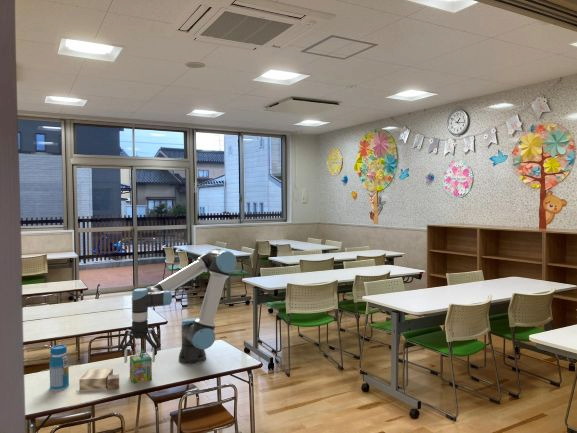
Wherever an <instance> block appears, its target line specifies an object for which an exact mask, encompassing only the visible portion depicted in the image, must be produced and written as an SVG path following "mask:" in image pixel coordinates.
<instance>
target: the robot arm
mask: <svg viewBox="0 0 577 433" xmlns="http://www.w3.org/2000/svg"><path fill="white" fill-rule="evenodd" d="M237 263H238V262H237V258H236V255H235V254H234V253H233V252H231V251H229V250H228V249H221V248H212V249H210V250H209V251H207V252H205V253H204V254H201V255H200V256H199V257H197V258H196V260H195V261H194V262H192V263H190V264H189V265H187V266H185V267H183V268H182V269H180V270H179V271H177V272H175V273H173V274H171V275H170V276H168V277H166V278H165V279H163V280H162V281H159V282H158V283H155V285H153V286H151V285H149V286H147V287H146V288H142V287H141V288H136V289H133V290H132V292H131V294H132V295H131V320H132V321H131V329H129V328H127V329H126V330H125V331H124V336H123V337H122V339H121V341H120V343H119V344H118V349H119V350H121V354H122V357H123V358H124V361H123V362H124V364H127V362H128V348H127V347H128V346H129V345H130V344H131V343H132V342H133V340H134V339H136V340H138V339H141V340H142V339H144V340H145V341H147V343H148V344H150V346H151V347H152V352H151V353H152V356H151V358H152V363H155V361H156V356H157V355H158V349H160V348H161V346H162V344H161V342H160V340H159V338H158V337H157V335H156V332H155V328H152V329H151V328H150V329H149V328H148V327H149V325H148V324H149V322H148V318H149V315H148V314H149V313H148V312H149V308H153V307H154V308H155V307H156V308H157V307H165V306H169V305H171V304H172V303H173V296H172V292H173V291H174V290H176V289H178V288H180V287H181V286H182V285H184V284H187V283H188V282H190V281H191V280H193V279H194V278H197V277H198V276H199V275H201V274H203V273H210V276H209V280H208V284H207V287H206V290H205V294H204V297H203V300H202V304H201V308H200V310H199V314H198V317H193V318H192V317H191V318H185V319H182V320H181V326H180V327H181V328H180V329H181V348H180V351H179V355H178V361H179V362H180V363H182V364H189V365H190V364H198V363H197V362H199V363H201V361H202V362H204V361H206V359H207V353H206V349H209V348H211V347H212V346H213V344H214V343H215V341H216V334H215V333H216V332H215V329H216V323H215V322H214V321H215V318H216V315H217V311H218V309H219V308H218V307H219V304H220V301H221V296H222V294H223V290H224V287H225V284H226V283H225V282H226V280H227V279H228V278H230V276H231V273H232V272H233V271H234V270H235V268H236V266H237ZM130 333H131V335H132V336H131V338H130V339H129V340H128V341H127V342H126V343H125V341H126V340H127V338H128V336H129V335H130ZM148 333H149V334H150V335H151V337H150V336H149V335H148ZM152 339H153V340H152ZM124 343H125V345H124ZM203 360H204V361H203Z"/></svg>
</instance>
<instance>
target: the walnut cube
mask: <svg viewBox="0 0 577 433" xmlns="http://www.w3.org/2000/svg"><path fill="white" fill-rule="evenodd" d="M107 389H108V390H107V391H111V390H118V389H120V374H119V373H118V374H113V375H109V376H108V386H107Z"/></svg>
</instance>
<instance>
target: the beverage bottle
mask: <svg viewBox="0 0 577 433" xmlns="http://www.w3.org/2000/svg"><path fill="white" fill-rule="evenodd" d="M67 348H68V347H67V345H65V344H57V345H54V346H52V347H50V355H51V357H50V359H49V362H48V363H49V367H48V370H49V390H52V391H62V390H64V389H67V388H68V387H69V386H70V379H69V377H70V376H69V375H70V374H69V373H70V372H69V368H70V364H69V357H68V355H67V350H68V349H67Z"/></svg>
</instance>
